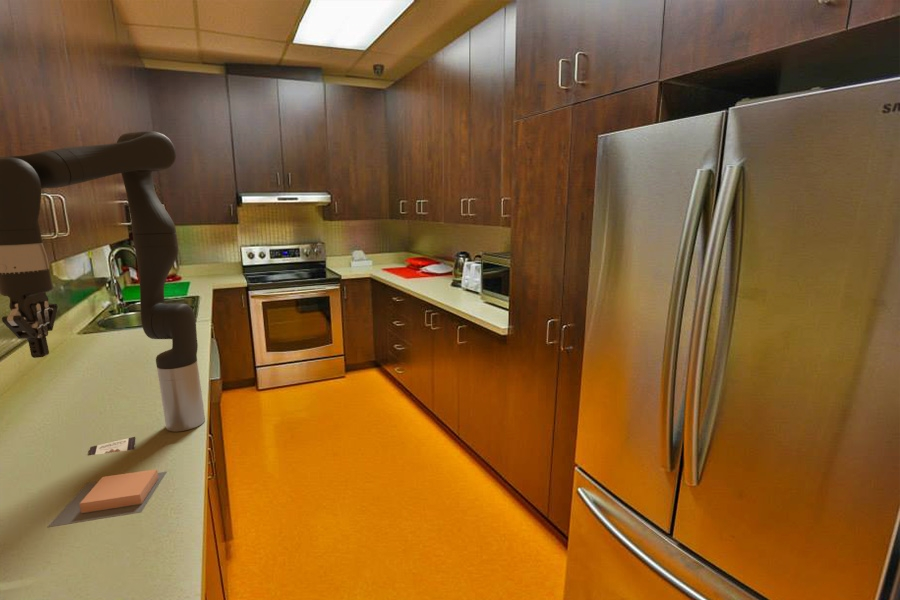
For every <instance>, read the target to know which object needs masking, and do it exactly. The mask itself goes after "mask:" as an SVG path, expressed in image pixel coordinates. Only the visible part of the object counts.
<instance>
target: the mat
mask: <svg viewBox="0 0 900 600" xmlns="http://www.w3.org/2000/svg"><path fill="white" fill-rule="evenodd" d="M167 472H168V471H162V472H161V471H160V472H158V477H159V478H158V479H157V481H156V483H155V484H154V486H153V487H152V489H151V490H150V492H149V493H148V495H147V496H146V498H145V499H144V501H143V502H142V504H139V505H132V506H126V507H120V508H113V509H107V510H100V511H94V512H88V513H81V508H80V502H81V501H82V500H83V499H84V498H85V497H86V496H87V494H88V493H89V492H90V491H91V490H92V489H93V487H94V486H95V485H96V484H97V483H98V482H99V481H100V480H99V481H90V482H86V484H84V486H83V487H82V488H81V489H80V490H79V492H78V493H76V495H75V496H74V497H73V498H72V499H71V500H70V501H69V502H68V504H67V505H65V506H64V508H63V509H62V510H61V511H60V512H59V513H58V514H57V516H56V517H55V518H54V519H52V521H51V522H50V523H49V524H48V526H47V528H50V527H58V526H63V525H70V524H77V523H82V522H88V521H95V520H101V519H107V518H108V519H109V518H116V517H120V516H127V515H132V514H133V515H134V514H139V513H142V512H143V510H144V509H145V507H146V506H147V504H148V502H149V500H151V498H152V496H153V495H154V494H155V492H156V490H157V488H158V487H159V485H160V484H161V483H162V480H163V479H164V477H165V475H166V474H167Z"/></svg>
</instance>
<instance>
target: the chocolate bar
mask: <svg viewBox="0 0 900 600" xmlns="http://www.w3.org/2000/svg"><path fill="white" fill-rule="evenodd" d="M134 445H136V436H133V437H127V438H125V439H124V438H122V439H118V440H115V441H110V442H106V443H102V444H98V445H93V446H90V448H89V451H88V454H87V455H88V456H93V455H94V456H95V455H102V454H110V453H119V452H126V451H133V450H135V447H134Z"/></svg>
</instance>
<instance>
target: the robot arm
mask: <svg viewBox="0 0 900 600" xmlns="http://www.w3.org/2000/svg"><path fill="white" fill-rule="evenodd" d="M176 159H177V152H176V147H175V145H174V143H173V142H172V141H171V139H170V138H169V137H168V136H166V135H165V134H163V133H162V132H161V133H160V132H158V131H153V130H152V131H151V130H143V131H132V132H126V133H123V134H121V135H120V136H119V137H118V139H117V141H116V142H115V143H114V142H113V143H107V144H95V145H85V146H84V145H81V146H70V147H64V148H63V147H62V148H56V149H50V150H48V149H47V150H43V151H38V152H35V153H31V154H24V155H23V154H20V155H12V156H2V157H0V296H3V297H8V298H9V306H8V307H9V310H10V313H9V315H6V316H5V315H4V316H2V317H1V322H2V324H4V325H5V326H6V327H7V328H8V329H9V330H10V331H11V332H12V333H13V334H14V336H15V337H16V338H17V339H20V340H21V339H25V340H26V341H27V342H28V347H29V351H30V355H31V357H32V358H33V359H38V358H44V357H46V356H48V355H49V354H50V351H49V345H48V339H47V337H48V335H49V332H51V331H53V329H54V325H55V321H56V316H57V311H58V308H59V307H58V304H57V303H50V301H49V297H48V294H47V293H49V292H52V291H53V290H54V285H53V281H52V274H51V271H50V270H51V269H50V265H49V260H48V255H47V252H46V249H45V246H44V244H43V239H42V234H41V228H40V224H39V217H40V213H41V212H40V211H41V200H42V189H57V188H62V187H68V186H69V187H70V186H72V185H78V184H81V183H86V182H90V181H93V180H97V179H101V178H105V177H111V176H115V175H118V174H121V177H122V180H123V185H124V189H125V194H126V199H127V204H128V209H129V217H130V222H131V223H130V224H131V231H132V238H133V239H132V240H133V245H134V251H135V257H136V262H137V263H136V264H137V272H138V280H139V298H140V299H139V301H140V304H139V305H140V320H141V321H140V322H141V326H142V330H143V333H144V334H145V336H147V337H148V338H149V339H152V340H172V341H171V342H172V343H171V345H172V346H171V347H172V348H171V349H168V350H165V351H163V352H160V353H159V354H157V356H156V357H155V364H156V370H157V371H156V372H157V378H158V383H159V390H160V395H161V402H162V409H163V416H164V421H165V428H166V430H167V431H169V432H183V431H184V432H185V431H189V430H192V429H195V428H197V427H199V426H201V425H203V424H205V422H206V415H205V408H204V401H203V393H202V392H203V391H202V385H201V379H200V372H199V364H198V346H199V345H198V333H197V322H196V315H195V312H194V310H193V308H192V307H191V306H190V305H189V304H188V303H187V304H186V303H181V302H180V303H166V301H165V285H166V280H167V278H168V276H169V273H170V272H171V271H172V268H173V266H174V265H175V262H176V260H177V257H178V254H179V245H178V244H179V243H178V236H177V229H176V225H175V223H174V221H173V219H172V218H171V217H172V216H170V214H169V213H168V211H167V210H166V208H165V207H164V205H163V204H162V202H161V201H160V199H159V197H158V195H157V193H156V189H155V184H154V179H153V172H162V171H166V170H168V169H169V168H171V167H172V166H173V165H174V164H175V161H176Z"/></svg>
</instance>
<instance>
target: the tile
mask: <svg viewBox="0 0 900 600" xmlns="http://www.w3.org/2000/svg"><path fill="white" fill-rule="evenodd" d="M158 473H159V471H158V469H157V468H156V469H149V470H141V471H135V472H126V473H119V474H114V475H108V476H107V475H105V476H102V477H100V479H99V482H98V483H97V484H96V485H95V486H94V487H93V489H92V490H91V491H90V492H89V493H88V494H87V496H86V497H85V498H84V499H83V500H82V501H81V502H80V508H81V513H88V512H94V511H100V510H107V509H113V508H120V507H126V506H132V505H139V504H142V502H143V501H144V499H145V498H146V496H147V495H148V493H149V492H150V490H151V489H152V487H153V486H154V484H155V483H156V481H157V479H158V478H159V477H158Z"/></svg>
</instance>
